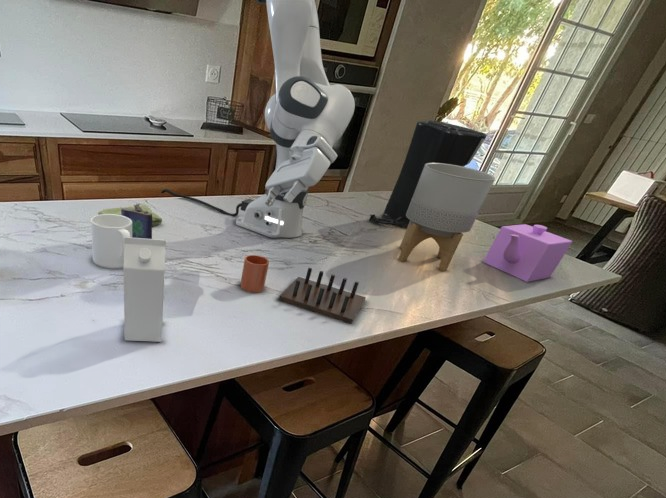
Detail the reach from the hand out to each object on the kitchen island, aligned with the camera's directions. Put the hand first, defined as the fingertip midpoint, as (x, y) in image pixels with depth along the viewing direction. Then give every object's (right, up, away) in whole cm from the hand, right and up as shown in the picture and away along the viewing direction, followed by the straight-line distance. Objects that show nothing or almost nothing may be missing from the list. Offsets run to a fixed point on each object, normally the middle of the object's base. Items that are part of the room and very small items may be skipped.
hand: (276, 203), depth 105 cm
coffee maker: (+61, +21, +67) cm, 93 cm away
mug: (-41, -13, +6) cm, 43 cm away
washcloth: (-41, +7, +31) cm, 52 cm away
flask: (-37, -4, +18) cm, 42 cm away
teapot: (+82, -7, +34) cm, 89 cm away
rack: (+11, -24, +1) cm, 26 cm away
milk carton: (-30, -34, -18) cm, 49 cm away
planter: (+52, -4, +33) cm, 62 cm away
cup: (-6, -20, +3) cm, 21 cm away
